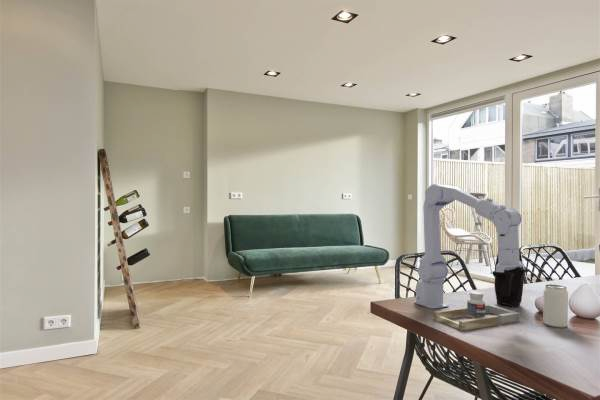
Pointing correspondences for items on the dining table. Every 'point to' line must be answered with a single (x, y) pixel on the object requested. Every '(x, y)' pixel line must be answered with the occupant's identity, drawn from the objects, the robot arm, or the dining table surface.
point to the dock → (502, 314)
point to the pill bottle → (475, 305)
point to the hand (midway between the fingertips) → (510, 293)
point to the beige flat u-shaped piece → (463, 325)
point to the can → (555, 306)
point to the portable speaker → (514, 297)
